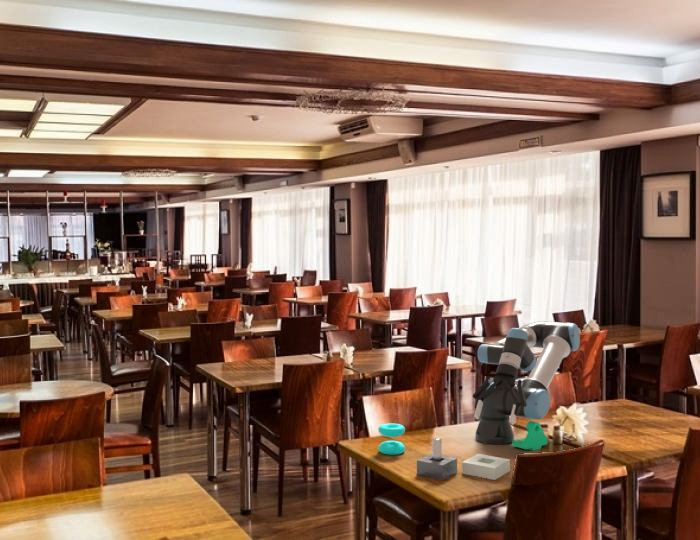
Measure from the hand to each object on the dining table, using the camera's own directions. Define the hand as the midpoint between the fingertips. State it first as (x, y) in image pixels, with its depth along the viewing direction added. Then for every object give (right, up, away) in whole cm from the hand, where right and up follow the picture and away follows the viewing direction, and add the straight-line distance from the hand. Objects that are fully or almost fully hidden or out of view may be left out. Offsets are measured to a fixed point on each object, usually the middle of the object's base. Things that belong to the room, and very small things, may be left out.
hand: (493, 420), depth 265 cm
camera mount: (+18, -15, +21) cm, 31 cm away
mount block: (-21, -16, -11) cm, 29 cm away
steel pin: (-21, -16, -11) cm, 29 cm away
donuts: (-35, -15, +16) cm, 42 cm away
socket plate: (-4, -16, -10) cm, 19 cm away
